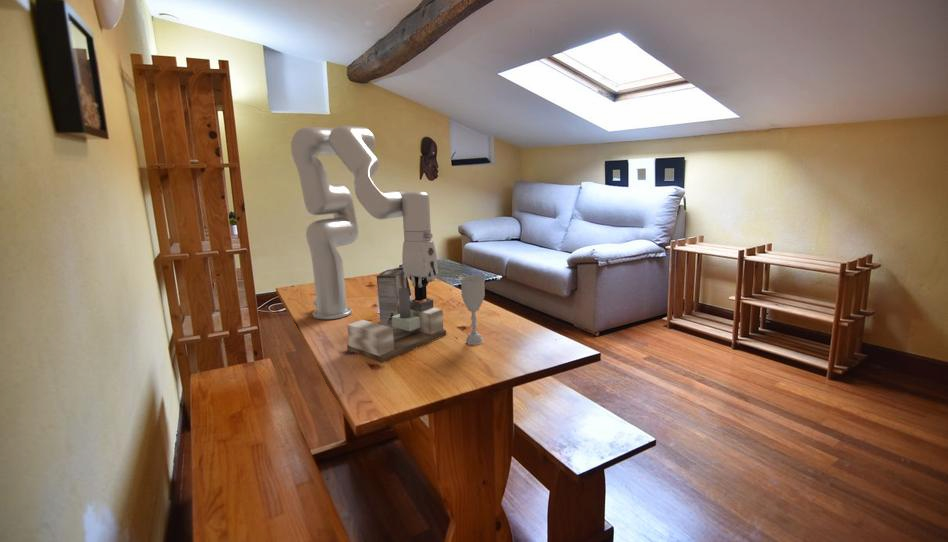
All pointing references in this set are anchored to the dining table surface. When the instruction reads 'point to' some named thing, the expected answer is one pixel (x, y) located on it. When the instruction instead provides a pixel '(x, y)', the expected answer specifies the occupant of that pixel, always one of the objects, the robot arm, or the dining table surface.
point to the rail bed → (396, 334)
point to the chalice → (473, 302)
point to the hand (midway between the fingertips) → (420, 299)
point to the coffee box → (389, 294)
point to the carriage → (405, 313)
